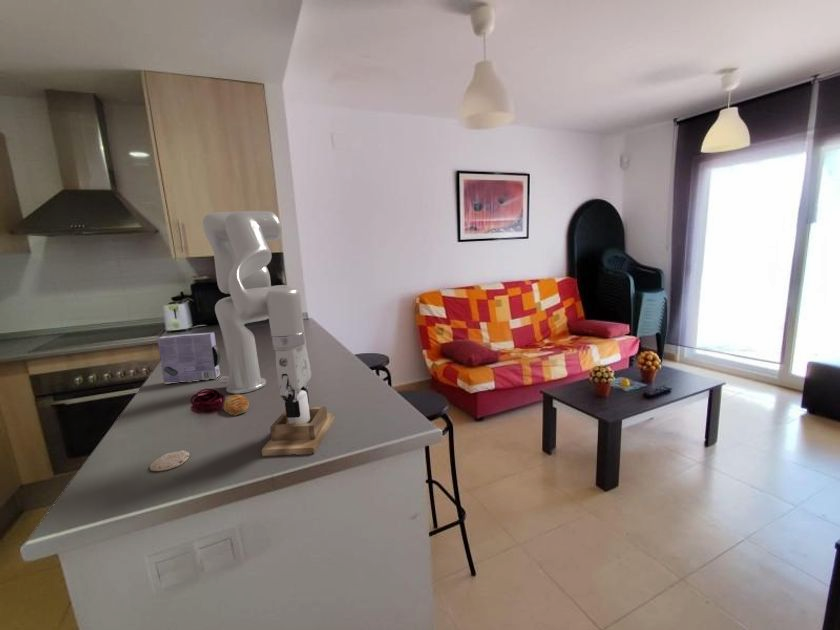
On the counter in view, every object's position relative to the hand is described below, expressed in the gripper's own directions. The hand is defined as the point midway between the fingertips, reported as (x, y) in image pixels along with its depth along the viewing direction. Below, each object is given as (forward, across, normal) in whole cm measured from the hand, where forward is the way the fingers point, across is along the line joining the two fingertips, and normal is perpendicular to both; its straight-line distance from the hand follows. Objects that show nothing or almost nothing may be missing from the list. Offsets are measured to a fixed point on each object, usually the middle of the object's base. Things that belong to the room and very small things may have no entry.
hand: (298, 410), depth 95 cm
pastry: (+7, +18, +26) cm, 32 cm away
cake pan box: (+7, +46, +57) cm, 73 cm away
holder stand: (+7, 0, 0) cm, 7 cm away
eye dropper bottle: (+4, 0, 0) cm, 4 cm away
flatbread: (+7, -10, +27) cm, 30 cm away
